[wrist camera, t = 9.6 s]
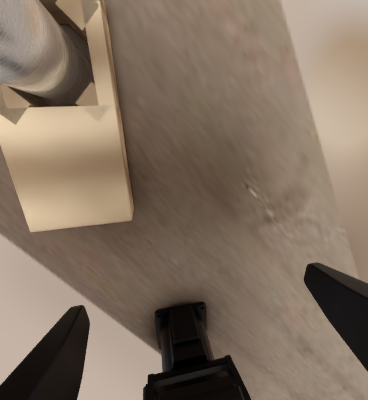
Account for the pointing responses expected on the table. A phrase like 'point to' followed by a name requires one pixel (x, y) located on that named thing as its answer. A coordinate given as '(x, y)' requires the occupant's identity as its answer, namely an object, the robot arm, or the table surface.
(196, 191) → the table surface
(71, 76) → the translucent cylinder
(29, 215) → the jig
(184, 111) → the table surface
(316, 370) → the table surface
